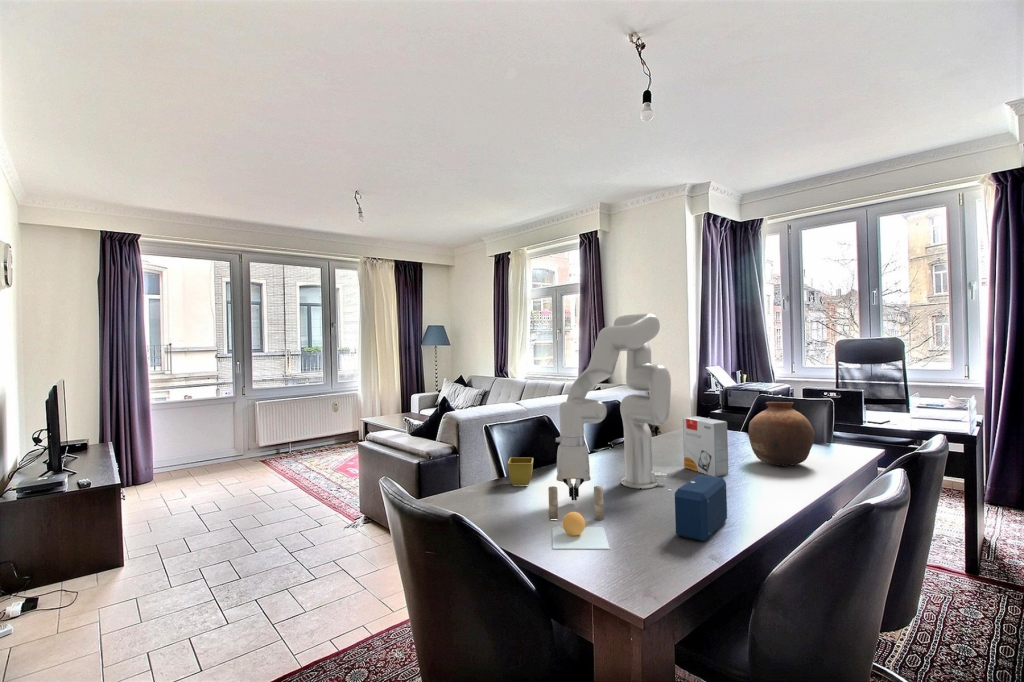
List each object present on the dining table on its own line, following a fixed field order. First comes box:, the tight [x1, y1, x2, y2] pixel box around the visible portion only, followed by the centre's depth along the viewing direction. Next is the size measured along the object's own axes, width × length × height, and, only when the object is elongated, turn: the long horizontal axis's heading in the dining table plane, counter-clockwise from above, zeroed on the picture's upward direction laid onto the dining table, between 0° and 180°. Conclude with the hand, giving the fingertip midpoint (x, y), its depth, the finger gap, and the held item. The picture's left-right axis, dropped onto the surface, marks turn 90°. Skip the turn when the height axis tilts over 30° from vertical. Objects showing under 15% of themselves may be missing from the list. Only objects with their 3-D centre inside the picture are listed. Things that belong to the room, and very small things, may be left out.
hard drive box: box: [682, 415, 729, 477], centre depth 189 cm, size 16×8×20 cm, turn 25°
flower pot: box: [507, 457, 534, 486], centre depth 178 cm, size 9×9×9 cm
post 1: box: [547, 485, 559, 520], centre depth 143 cm, size 3×3×9 cm
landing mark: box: [551, 526, 611, 550], centre depth 129 cm, size 14×14×1 cm
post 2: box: [593, 485, 605, 521], centre depth 142 cm, size 3×3×9 cm
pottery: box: [748, 401, 816, 467], centre depth 195 cm, size 23×23×25 cm
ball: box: [562, 511, 586, 536], centre depth 131 cm, size 6×6×6 cm
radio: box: [674, 451, 728, 542], centre depth 133 cm, size 21×9×20 cm, turn 141°
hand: (574, 499), depth 156 cm, fingers closed
